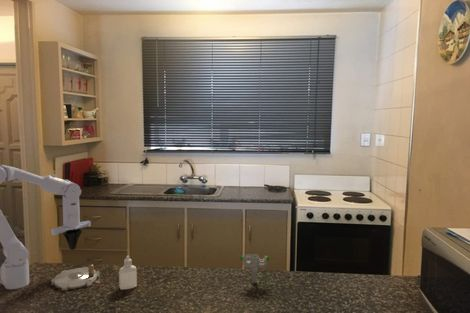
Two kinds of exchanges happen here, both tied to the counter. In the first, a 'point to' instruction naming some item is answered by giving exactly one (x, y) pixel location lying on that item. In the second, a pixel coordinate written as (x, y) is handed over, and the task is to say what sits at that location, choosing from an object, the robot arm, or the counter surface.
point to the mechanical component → (254, 263)
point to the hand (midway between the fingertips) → (72, 248)
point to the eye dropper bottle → (128, 275)
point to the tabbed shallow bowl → (75, 278)
